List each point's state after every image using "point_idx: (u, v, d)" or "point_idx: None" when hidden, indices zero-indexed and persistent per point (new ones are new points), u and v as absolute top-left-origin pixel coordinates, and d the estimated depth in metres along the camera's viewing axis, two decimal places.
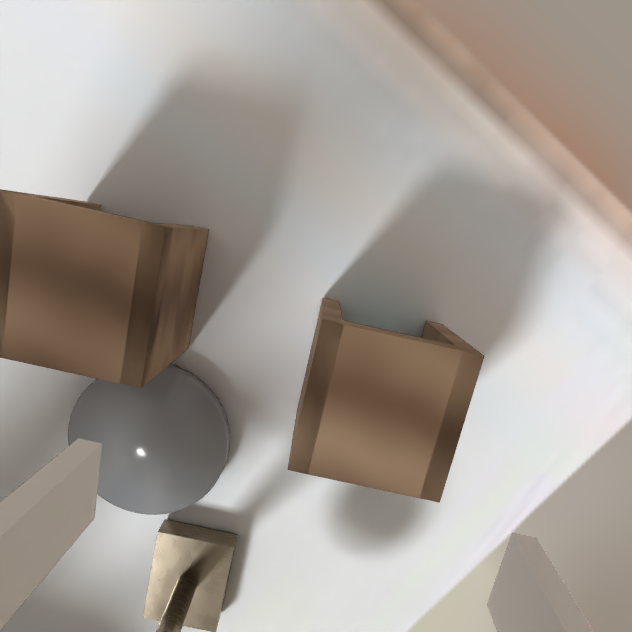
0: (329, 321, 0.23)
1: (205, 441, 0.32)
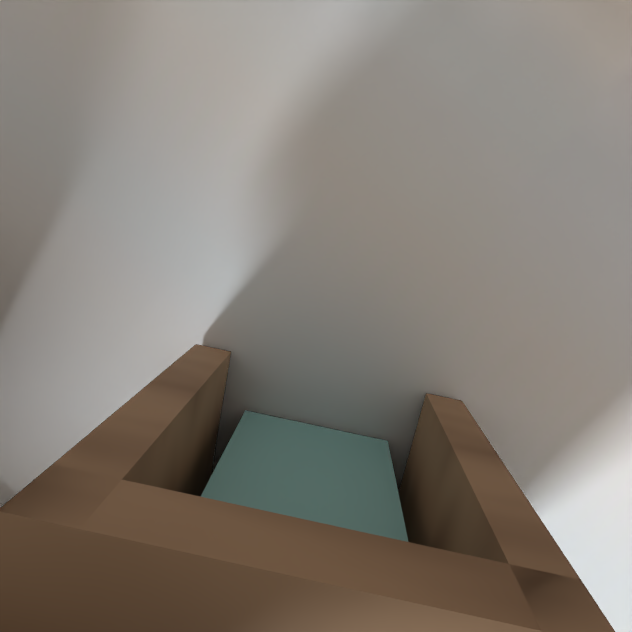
0: (30, 513, 0.06)
1: None
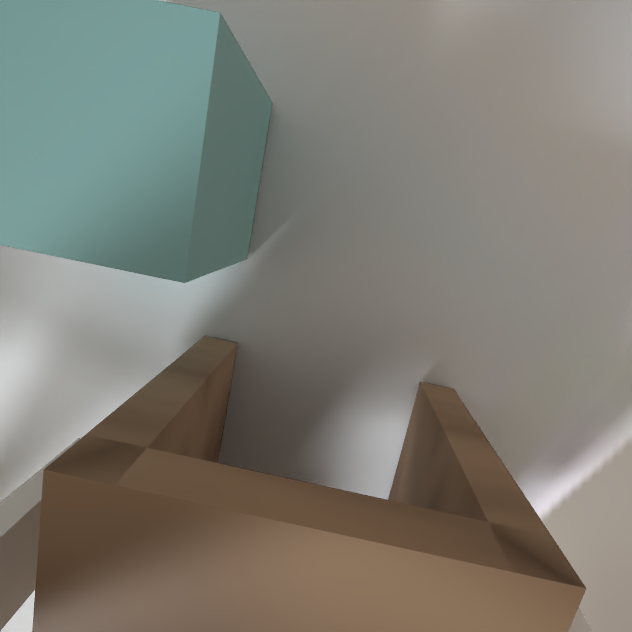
0: (71, 472, 0.07)
1: None
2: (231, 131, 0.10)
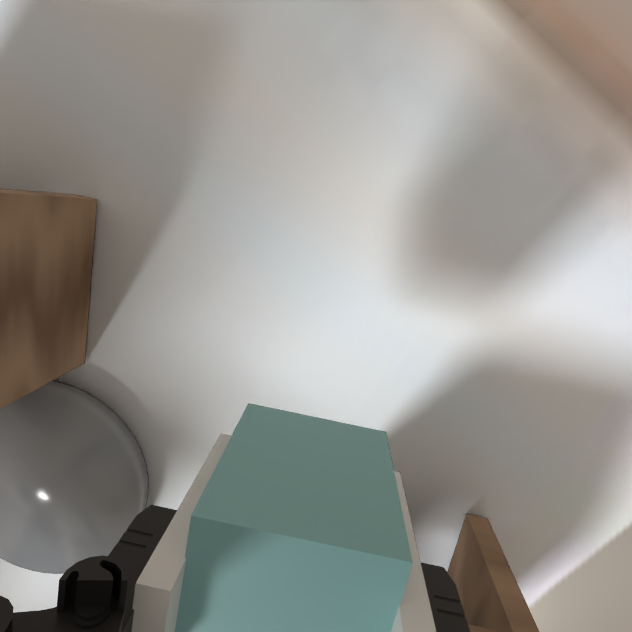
0: None
1: (110, 485, 0.24)
2: None
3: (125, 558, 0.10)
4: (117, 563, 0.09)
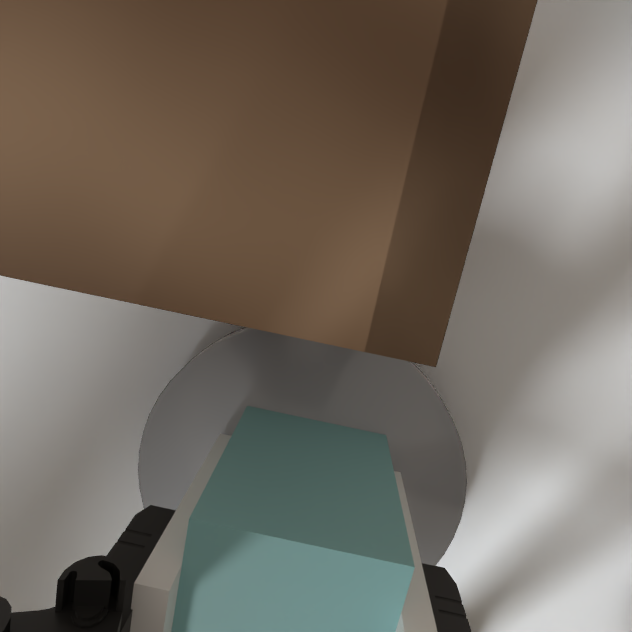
0: None
1: (421, 483, 0.16)
2: None
3: (124, 558, 0.10)
4: (115, 563, 0.09)
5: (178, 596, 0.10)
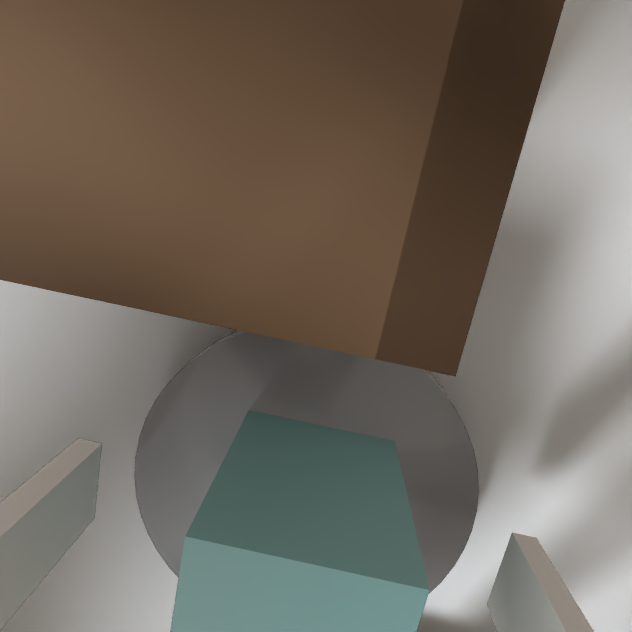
0: None
1: (431, 492, 0.15)
2: None
3: None
4: None
5: (174, 618, 0.09)
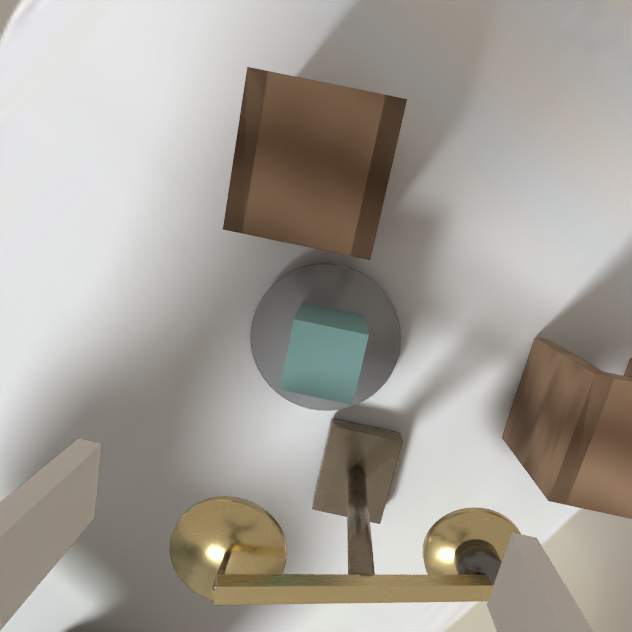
0: (600, 375, 0.27)
1: (380, 338, 0.34)
2: None
3: None
4: None
5: (288, 348, 0.29)
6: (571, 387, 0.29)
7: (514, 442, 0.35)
